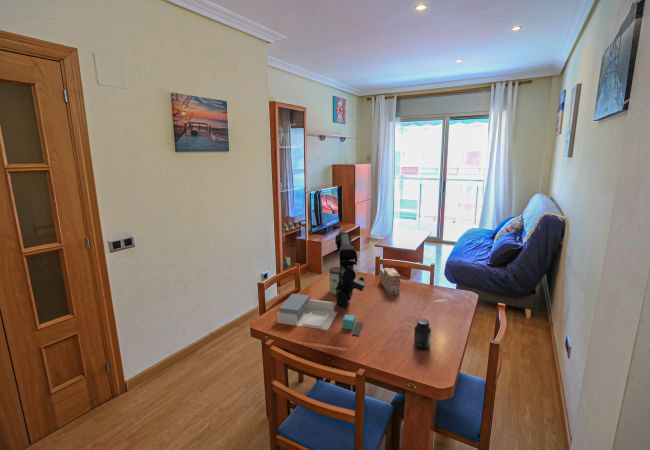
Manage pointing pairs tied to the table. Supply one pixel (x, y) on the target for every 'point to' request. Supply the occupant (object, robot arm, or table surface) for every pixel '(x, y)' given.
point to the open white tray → (311, 315)
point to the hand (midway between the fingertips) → (347, 304)
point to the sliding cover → (294, 303)
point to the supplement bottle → (422, 335)
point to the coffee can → (334, 278)
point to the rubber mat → (358, 329)
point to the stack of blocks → (390, 280)
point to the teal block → (348, 321)
